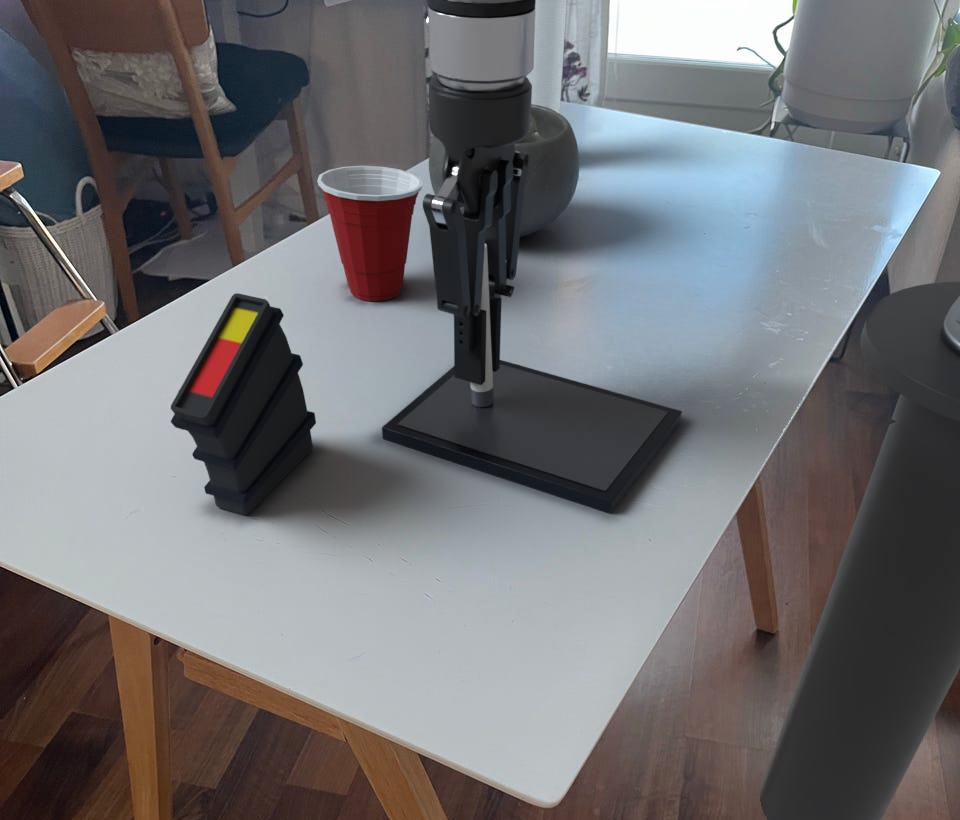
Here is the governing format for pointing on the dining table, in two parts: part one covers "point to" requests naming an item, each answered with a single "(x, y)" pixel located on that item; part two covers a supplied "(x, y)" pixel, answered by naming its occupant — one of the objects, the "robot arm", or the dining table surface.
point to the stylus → (484, 392)
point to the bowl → (536, 168)
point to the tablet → (539, 432)
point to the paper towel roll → (548, 53)
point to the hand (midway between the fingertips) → (477, 372)
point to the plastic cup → (371, 225)
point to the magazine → (245, 405)
